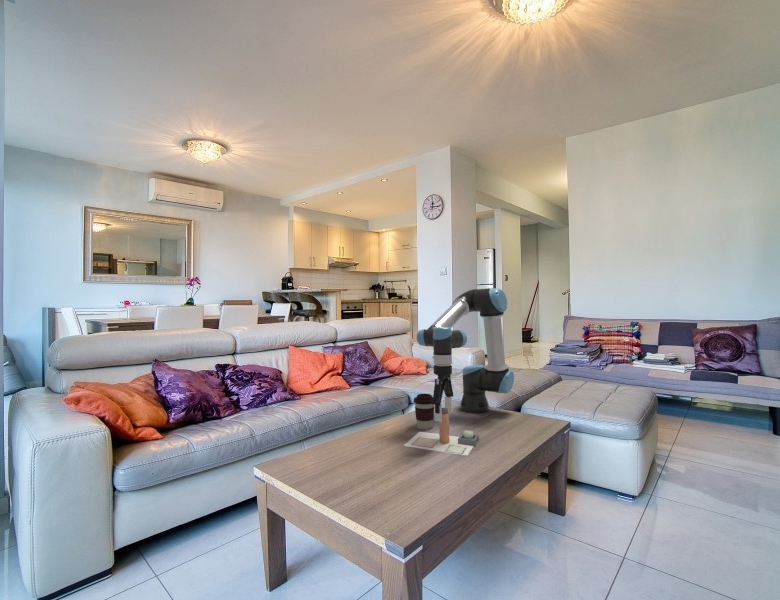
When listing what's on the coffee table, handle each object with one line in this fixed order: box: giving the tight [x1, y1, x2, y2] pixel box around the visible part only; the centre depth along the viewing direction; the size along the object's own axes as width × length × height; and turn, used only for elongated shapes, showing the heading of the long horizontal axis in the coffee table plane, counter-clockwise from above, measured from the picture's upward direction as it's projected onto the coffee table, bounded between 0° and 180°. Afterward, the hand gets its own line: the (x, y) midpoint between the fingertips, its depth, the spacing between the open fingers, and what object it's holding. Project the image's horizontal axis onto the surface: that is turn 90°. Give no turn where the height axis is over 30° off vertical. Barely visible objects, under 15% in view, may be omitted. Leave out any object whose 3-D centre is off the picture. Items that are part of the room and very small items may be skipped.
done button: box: [462, 429, 474, 440], centre depth 155 cm, size 4×4×3 cm
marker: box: [438, 407, 450, 444], centre depth 155 cm, size 4×4×14 cm
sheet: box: [403, 431, 475, 456], centre depth 154 cm, size 18×26×1 cm
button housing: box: [458, 432, 480, 447], centre depth 155 cm, size 7×7×2 cm
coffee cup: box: [413, 393, 435, 430], centre depth 174 cm, size 10×10×15 cm
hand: (443, 416), depth 155 cm, fingers open, 13 cm apart
